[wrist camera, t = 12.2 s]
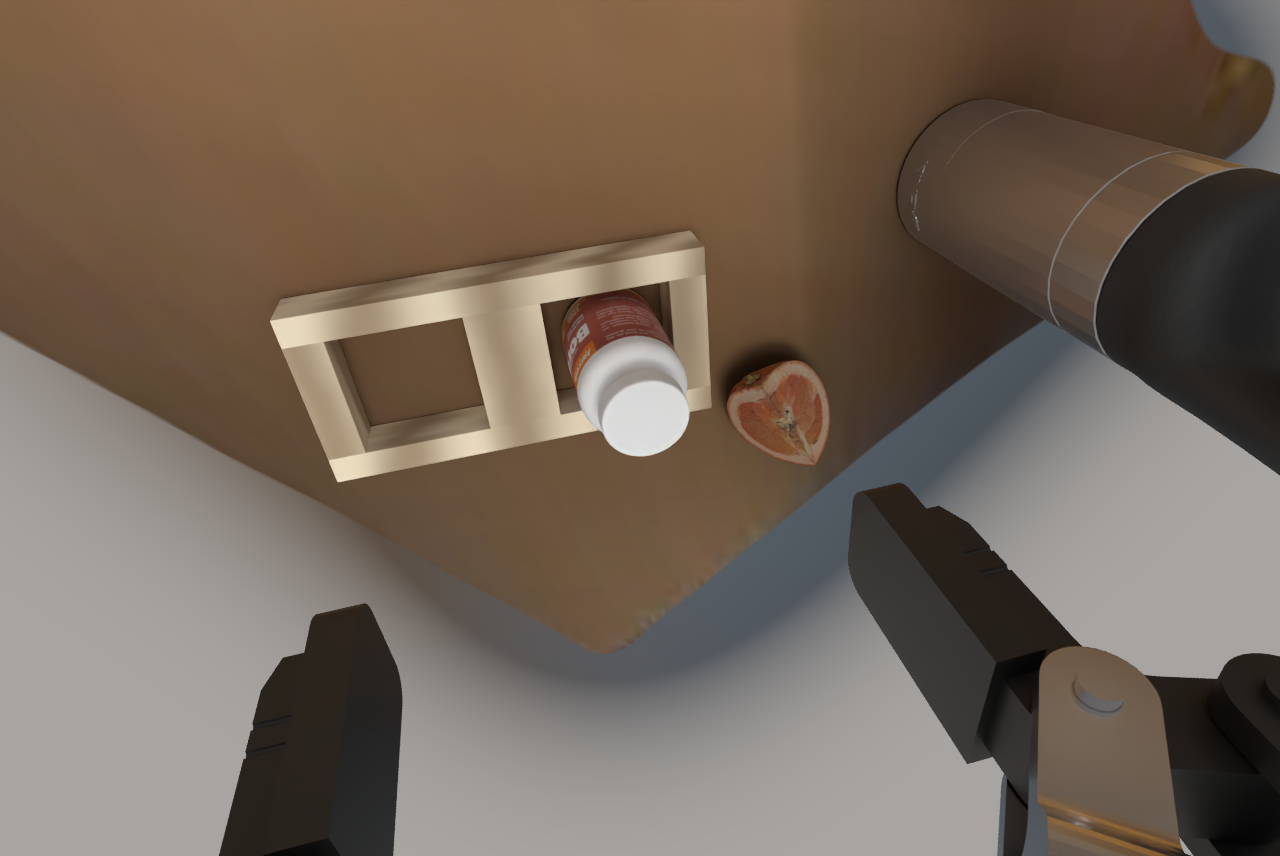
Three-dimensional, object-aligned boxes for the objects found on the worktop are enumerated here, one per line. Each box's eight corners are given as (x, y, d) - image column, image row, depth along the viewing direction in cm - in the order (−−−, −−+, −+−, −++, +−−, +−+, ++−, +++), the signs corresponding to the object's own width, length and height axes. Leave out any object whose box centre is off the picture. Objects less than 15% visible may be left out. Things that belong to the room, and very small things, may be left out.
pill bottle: (556, 286, 44) (584, 372, 35) (655, 278, 45) (706, 360, 36) (562, 376, 47) (589, 475, 38) (653, 366, 48) (701, 461, 39)
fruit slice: (699, 376, 50) (721, 414, 46) (781, 320, 49) (811, 353, 45) (753, 451, 54) (777, 491, 50) (829, 401, 53) (861, 438, 49)
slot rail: (690, 230, 44) (704, 246, 41) (698, 385, 50) (711, 407, 48) (280, 299, 41) (269, 321, 38) (343, 454, 47) (337, 482, 44)
